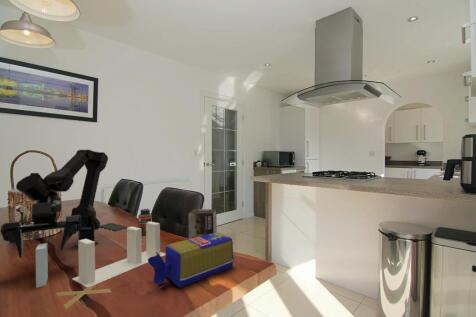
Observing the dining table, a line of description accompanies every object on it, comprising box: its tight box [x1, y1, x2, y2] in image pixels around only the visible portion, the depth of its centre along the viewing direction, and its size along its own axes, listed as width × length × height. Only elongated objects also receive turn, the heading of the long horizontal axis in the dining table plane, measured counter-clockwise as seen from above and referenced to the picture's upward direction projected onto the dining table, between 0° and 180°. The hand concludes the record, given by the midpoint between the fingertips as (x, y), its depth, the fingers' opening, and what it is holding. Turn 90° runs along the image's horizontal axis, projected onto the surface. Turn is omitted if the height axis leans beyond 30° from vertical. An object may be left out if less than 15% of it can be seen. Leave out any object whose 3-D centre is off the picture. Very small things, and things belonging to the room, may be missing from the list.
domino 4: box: [145, 221, 161, 256], centre depth 89 cm, size 2×5×11 cm, turn 57°
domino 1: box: [35, 242, 49, 289], centre depth 69 cm, size 2×5×11 cm, turn 32°
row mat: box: [71, 250, 165, 288], centre depth 80 cm, size 9×27×1 cm, turn 147°
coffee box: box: [188, 208, 218, 239], centre depth 89 cm, size 9×6×16 cm
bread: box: [148, 232, 235, 289], centre depth 75 cm, size 10×25×10 cm, turn 131°
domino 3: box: [126, 226, 143, 264], centre depth 83 cm, size 2×5×11 cm, turn 57°
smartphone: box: [99, 222, 129, 232], centre depth 127 cm, size 7×1×15 cm
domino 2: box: [77, 239, 96, 284], centre depth 71 cm, size 2×5×11 cm, turn 57°
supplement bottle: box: [137, 208, 153, 236], centre depth 116 cm, size 6×6×11 cm
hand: (41, 253), depth 70 cm, fingers open, 9 cm apart
